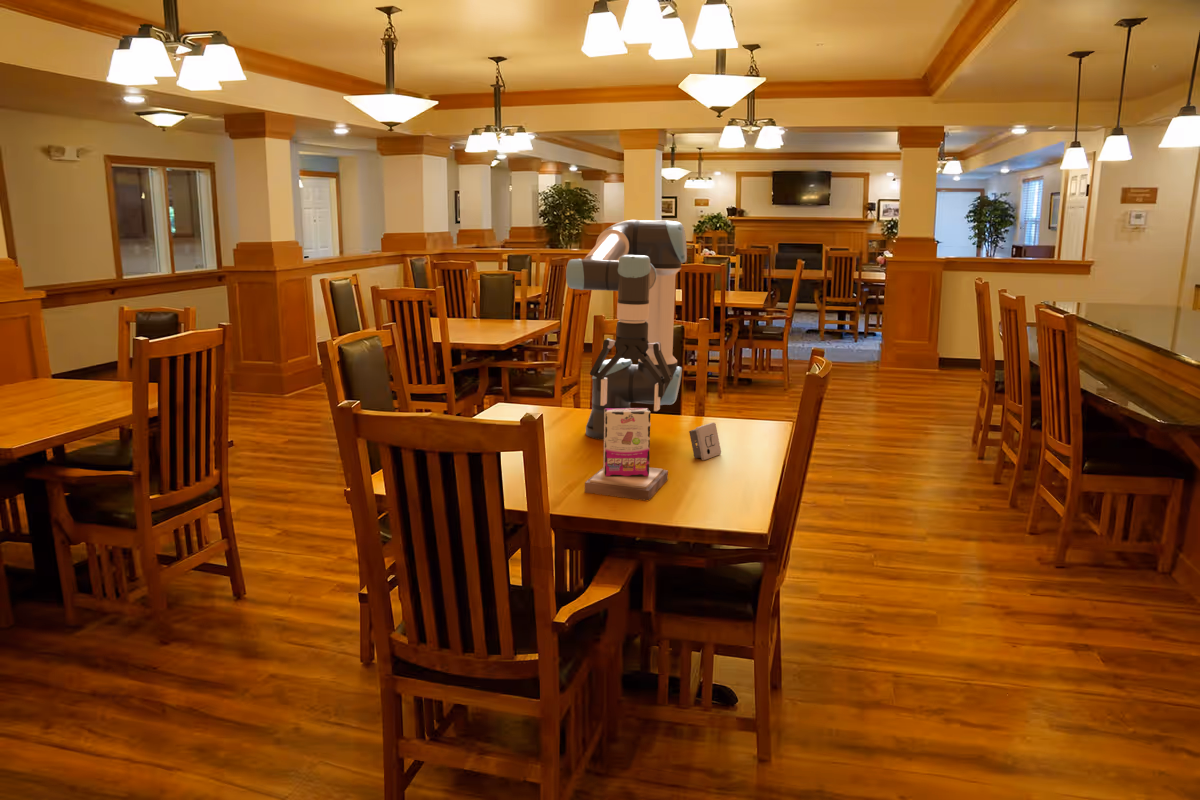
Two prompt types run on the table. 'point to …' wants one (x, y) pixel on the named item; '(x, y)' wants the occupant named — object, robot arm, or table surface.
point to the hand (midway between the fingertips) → (630, 407)
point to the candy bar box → (626, 441)
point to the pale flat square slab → (627, 484)
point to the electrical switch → (705, 441)
